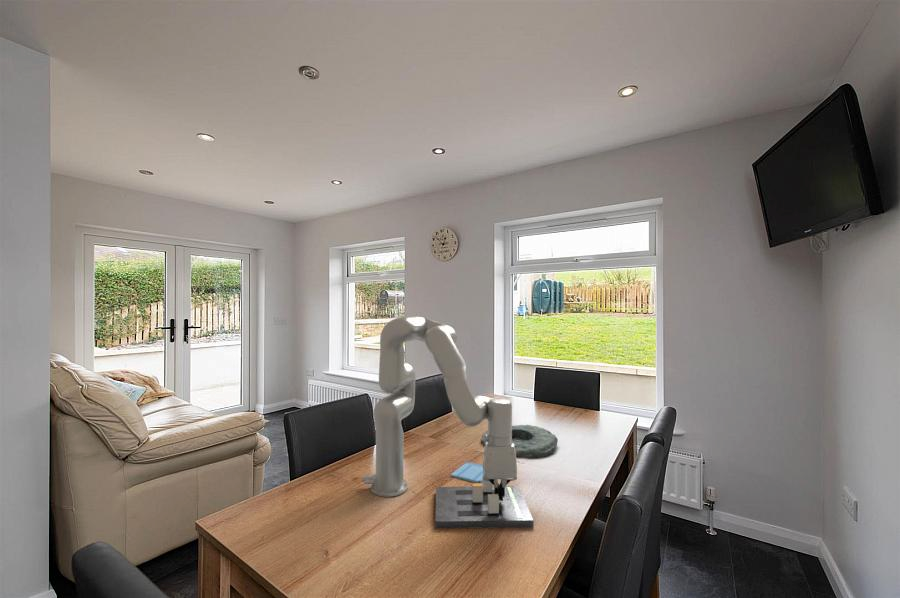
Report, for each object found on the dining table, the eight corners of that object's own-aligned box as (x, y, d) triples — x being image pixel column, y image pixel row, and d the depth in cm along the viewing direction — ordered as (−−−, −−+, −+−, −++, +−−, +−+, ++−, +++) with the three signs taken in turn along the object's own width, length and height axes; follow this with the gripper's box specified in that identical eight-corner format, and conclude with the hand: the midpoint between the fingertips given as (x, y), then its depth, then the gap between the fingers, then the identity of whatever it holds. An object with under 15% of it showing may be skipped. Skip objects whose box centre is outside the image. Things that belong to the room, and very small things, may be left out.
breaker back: (483, 492, 127) (483, 477, 127) (482, 489, 129) (482, 475, 129) (492, 492, 127) (492, 477, 128) (491, 489, 129) (491, 475, 130)
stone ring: (551, 433, 195) (551, 423, 195) (564, 460, 161) (564, 448, 161) (482, 430, 198) (482, 421, 198) (480, 456, 164) (480, 444, 164)
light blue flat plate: (480, 485, 139) (480, 481, 139) (450, 477, 145) (450, 474, 145) (494, 471, 151) (494, 467, 151) (466, 464, 156) (467, 461, 156)
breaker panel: (435, 528, 111) (435, 521, 111) (435, 492, 132) (435, 486, 132) (533, 527, 112) (533, 519, 112) (518, 492, 133) (518, 485, 133)
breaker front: (488, 513, 114) (488, 497, 114) (487, 509, 116) (487, 494, 116) (498, 513, 114) (498, 497, 115) (497, 509, 116) (497, 494, 117)
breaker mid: (472, 502, 121) (473, 486, 121) (472, 499, 123) (472, 483, 123) (482, 502, 121) (482, 486, 121) (481, 499, 123) (481, 483, 123)
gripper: (477, 444, 118) (476, 505, 118) (526, 443, 119) (525, 504, 119) (474, 435, 126) (474, 493, 126) (520, 435, 126) (520, 492, 126)
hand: (499, 498), depth 122 cm, fingers closed
